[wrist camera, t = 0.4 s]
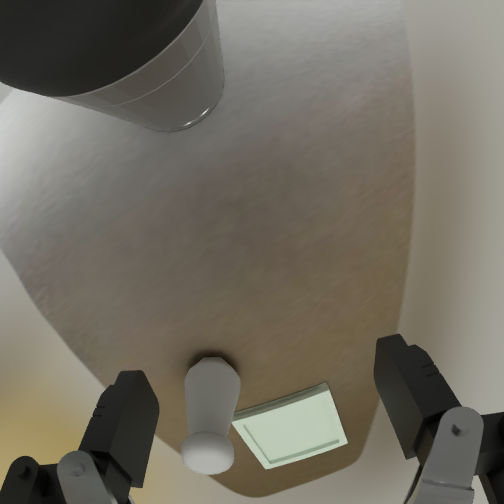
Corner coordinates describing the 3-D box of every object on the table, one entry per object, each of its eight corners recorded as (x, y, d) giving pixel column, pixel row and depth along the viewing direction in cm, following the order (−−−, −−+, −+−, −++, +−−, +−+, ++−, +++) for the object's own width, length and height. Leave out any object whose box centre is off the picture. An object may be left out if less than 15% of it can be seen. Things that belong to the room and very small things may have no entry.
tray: (231, 413, 35) (231, 422, 33) (326, 381, 34) (329, 389, 32) (264, 461, 38) (265, 469, 36) (344, 435, 37) (347, 443, 36)
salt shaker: (245, 354, 32) (251, 450, 20) (235, 393, 34) (237, 485, 21) (189, 345, 31) (171, 439, 19) (184, 385, 33) (169, 476, 20)
